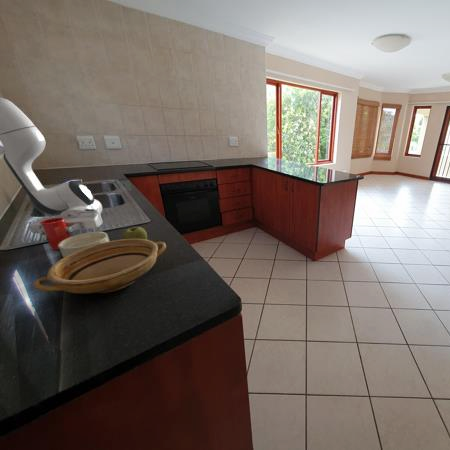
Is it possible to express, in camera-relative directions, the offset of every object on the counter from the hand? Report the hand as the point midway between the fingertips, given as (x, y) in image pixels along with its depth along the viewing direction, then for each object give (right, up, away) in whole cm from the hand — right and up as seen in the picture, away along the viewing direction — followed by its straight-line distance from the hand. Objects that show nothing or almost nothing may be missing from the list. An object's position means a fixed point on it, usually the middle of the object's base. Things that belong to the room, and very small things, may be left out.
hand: (55, 231), depth 84 cm
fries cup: (0, -5, +3) cm, 6 cm away
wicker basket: (+34, -14, -15) cm, 40 cm away
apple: (+27, -6, +4) cm, 28 cm away
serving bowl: (+11, -7, +1) cm, 13 cm away
